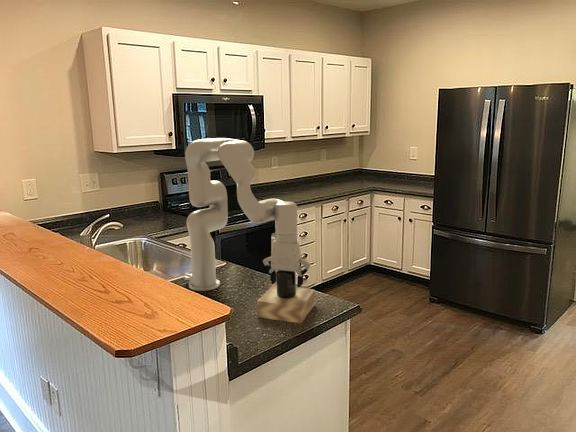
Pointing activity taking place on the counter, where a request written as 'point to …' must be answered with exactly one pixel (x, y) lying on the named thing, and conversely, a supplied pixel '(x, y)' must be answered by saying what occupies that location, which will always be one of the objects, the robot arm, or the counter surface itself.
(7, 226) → the counter surface
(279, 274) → the supplement bottle
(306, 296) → the maple block
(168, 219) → the counter surface
